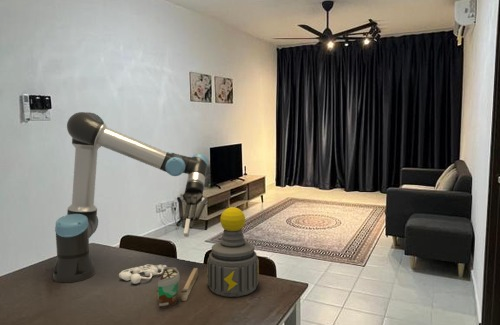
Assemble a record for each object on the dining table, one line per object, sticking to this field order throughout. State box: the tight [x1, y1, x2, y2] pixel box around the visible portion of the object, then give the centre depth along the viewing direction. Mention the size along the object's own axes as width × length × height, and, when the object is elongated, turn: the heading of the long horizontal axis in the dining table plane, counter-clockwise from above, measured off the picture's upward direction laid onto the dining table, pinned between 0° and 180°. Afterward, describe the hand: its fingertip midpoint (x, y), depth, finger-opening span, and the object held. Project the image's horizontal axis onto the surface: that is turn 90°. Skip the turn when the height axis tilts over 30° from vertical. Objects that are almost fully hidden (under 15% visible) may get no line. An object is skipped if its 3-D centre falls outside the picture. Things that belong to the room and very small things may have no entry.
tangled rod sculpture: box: [118, 264, 168, 285], centre depth 155 cm, size 19×14×4 cm
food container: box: [157, 266, 181, 309], centre depth 131 cm, size 12×6×10 cm, turn 2°
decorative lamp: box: [206, 206, 260, 298], centre depth 142 cm, size 19×19×30 cm
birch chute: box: [156, 267, 198, 302], centre depth 143 cm, size 10×22×4 cm, turn 178°
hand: (186, 234), depth 150 cm, fingers closed
